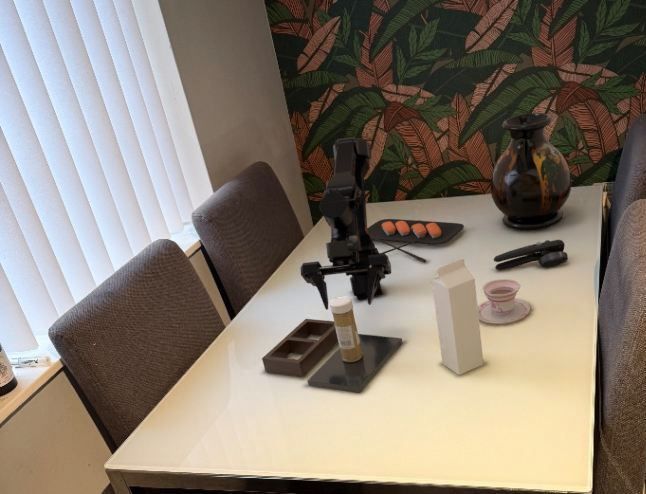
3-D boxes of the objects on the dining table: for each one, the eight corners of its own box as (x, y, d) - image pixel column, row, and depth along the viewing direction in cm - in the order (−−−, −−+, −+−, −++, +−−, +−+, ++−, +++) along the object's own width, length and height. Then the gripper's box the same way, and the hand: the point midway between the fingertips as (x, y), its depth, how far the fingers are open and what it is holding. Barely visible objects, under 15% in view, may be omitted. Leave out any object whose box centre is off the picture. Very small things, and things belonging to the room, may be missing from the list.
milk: (483, 364, 151) (474, 262, 140) (458, 375, 149) (446, 273, 138) (466, 353, 156) (455, 253, 145) (441, 364, 154) (428, 263, 142)
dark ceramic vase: (565, 236, 199) (561, 127, 185) (485, 237, 208) (475, 133, 193) (578, 206, 216) (575, 105, 201) (503, 208, 224) (495, 111, 210)
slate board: (354, 338, 170) (353, 333, 169) (402, 342, 164) (402, 338, 164) (308, 385, 155) (307, 380, 155) (359, 392, 150) (358, 387, 149)
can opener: (564, 254, 190) (563, 233, 187) (569, 266, 184) (568, 244, 181) (493, 264, 191) (491, 243, 189) (495, 275, 186) (493, 254, 183)
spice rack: (308, 332, 176) (305, 318, 174) (344, 335, 171) (341, 321, 170) (265, 372, 163) (261, 358, 161) (302, 377, 158) (299, 362, 157)
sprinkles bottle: (367, 354, 160) (355, 296, 153) (354, 365, 157) (342, 306, 150) (350, 350, 162) (338, 294, 155) (337, 361, 159) (324, 303, 152)
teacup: (540, 306, 168) (539, 280, 165) (509, 329, 162) (507, 303, 158) (496, 296, 176) (494, 271, 173) (464, 318, 169) (461, 293, 166)
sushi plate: (468, 230, 214) (467, 217, 212) (415, 274, 194) (413, 260, 192) (382, 224, 229) (380, 212, 227) (325, 264, 209) (322, 251, 207)
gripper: (292, 227, 157) (294, 299, 154) (380, 216, 155) (385, 289, 151) (306, 248, 168) (308, 315, 165) (389, 238, 165) (393, 306, 162)
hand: (347, 306), depth 160 cm, fingers open, 9 cm apart
